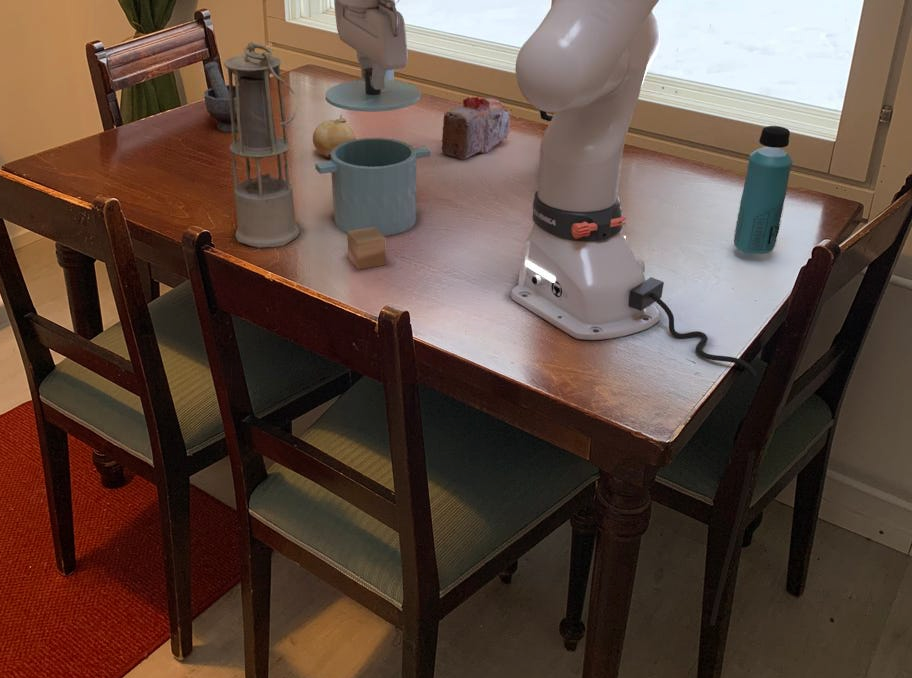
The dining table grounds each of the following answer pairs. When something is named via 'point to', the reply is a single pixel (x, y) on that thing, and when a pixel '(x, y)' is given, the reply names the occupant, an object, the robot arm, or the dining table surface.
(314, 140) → the onion
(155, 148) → the dining table surface
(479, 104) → the food item
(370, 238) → the block
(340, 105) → the pot lid
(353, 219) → the pot
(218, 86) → the mortar and pestle
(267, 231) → the lamp
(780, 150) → the beverage bottle
